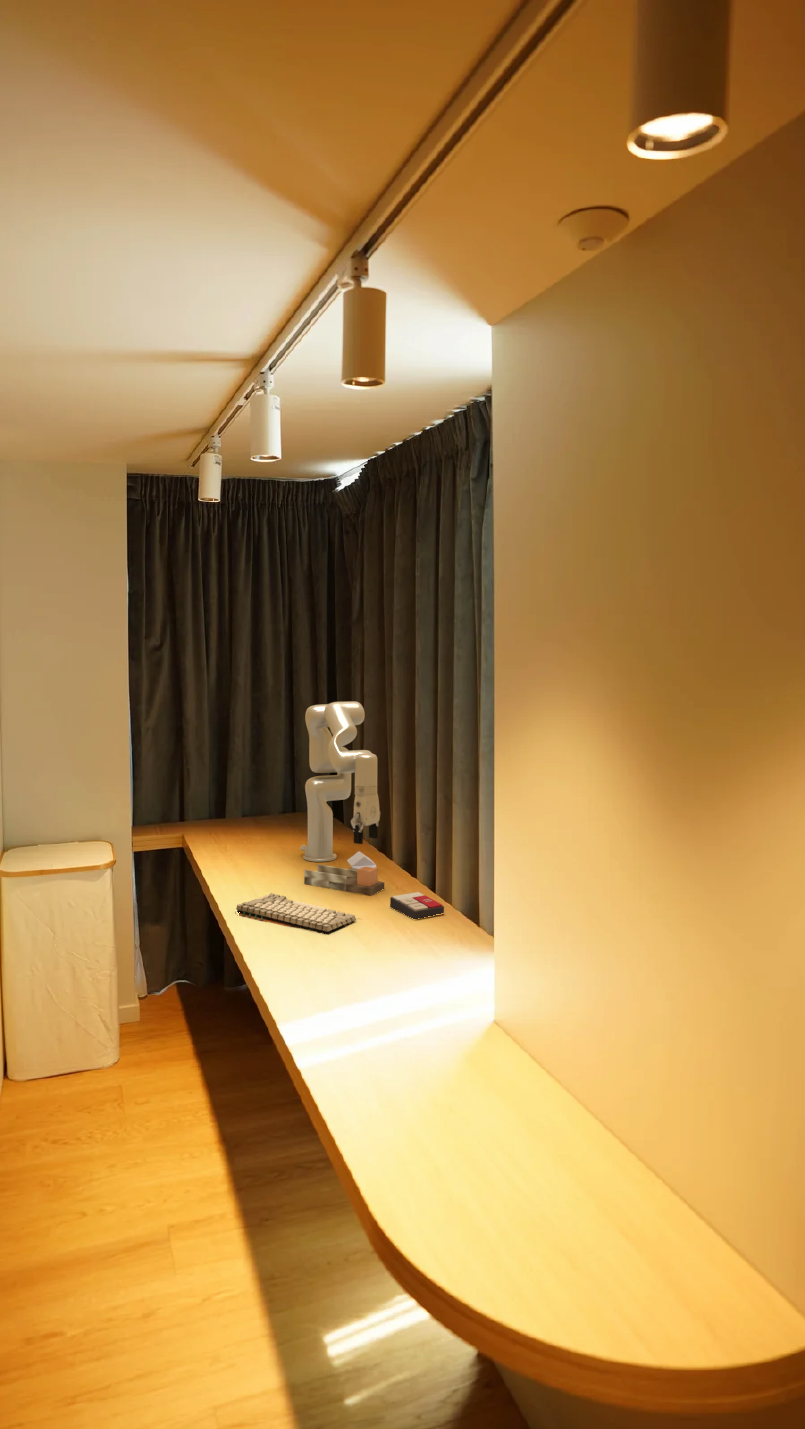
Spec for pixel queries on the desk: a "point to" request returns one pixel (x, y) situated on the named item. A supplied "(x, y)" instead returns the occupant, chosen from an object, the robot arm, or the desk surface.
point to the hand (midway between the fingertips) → (365, 840)
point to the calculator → (416, 905)
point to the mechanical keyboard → (294, 914)
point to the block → (367, 876)
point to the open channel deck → (339, 880)
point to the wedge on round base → (360, 861)
